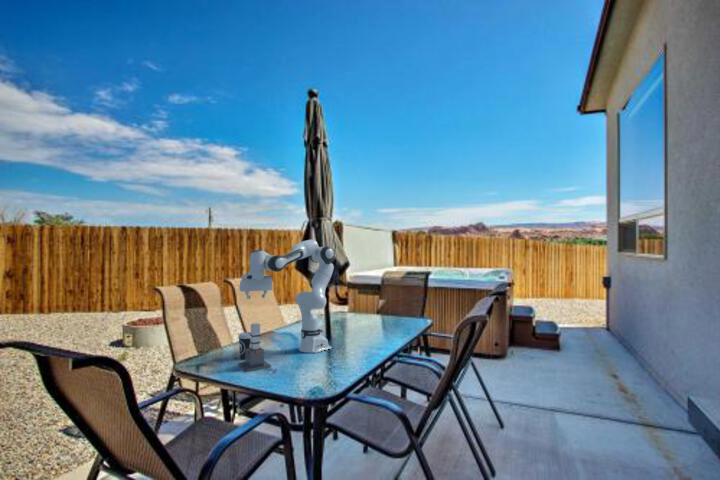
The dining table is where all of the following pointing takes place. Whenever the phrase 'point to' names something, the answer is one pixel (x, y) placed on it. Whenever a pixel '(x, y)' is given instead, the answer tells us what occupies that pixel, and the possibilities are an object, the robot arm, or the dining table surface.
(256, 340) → the column
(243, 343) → the coffee cup
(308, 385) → the dining table surface
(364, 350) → the dining table surface
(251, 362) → the stand
